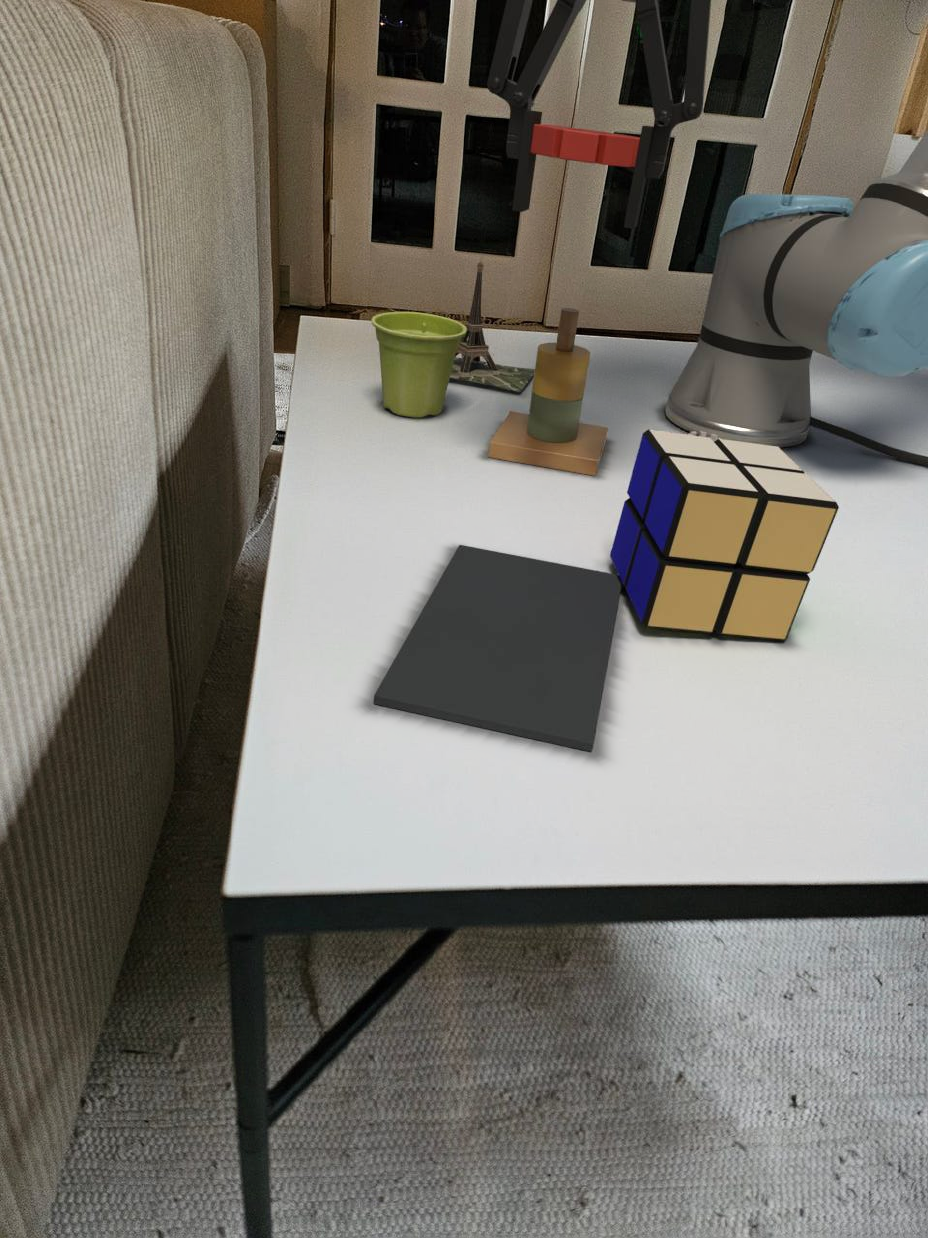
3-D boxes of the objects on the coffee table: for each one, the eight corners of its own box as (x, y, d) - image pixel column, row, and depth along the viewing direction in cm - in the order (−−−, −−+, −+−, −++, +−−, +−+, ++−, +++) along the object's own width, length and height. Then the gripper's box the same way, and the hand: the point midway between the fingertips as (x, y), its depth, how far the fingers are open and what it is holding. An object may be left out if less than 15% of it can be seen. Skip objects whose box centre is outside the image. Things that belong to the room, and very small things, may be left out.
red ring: (641, 164, 68) (646, 137, 67) (631, 168, 62) (637, 138, 61) (542, 150, 69) (546, 123, 68) (522, 153, 63) (526, 123, 62)
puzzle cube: (607, 557, 66) (642, 426, 61) (736, 572, 68) (780, 445, 63) (641, 629, 58) (685, 484, 53) (787, 644, 59) (844, 504, 54)
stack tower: (605, 441, 91) (630, 307, 84) (595, 476, 82) (622, 329, 76) (508, 425, 92) (524, 291, 86) (487, 457, 84) (504, 312, 77)
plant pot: (462, 401, 98) (471, 318, 93) (453, 429, 89) (461, 340, 85) (376, 390, 98) (381, 307, 93) (359, 417, 90) (363, 327, 85)
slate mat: (621, 582, 65) (623, 575, 64) (591, 752, 48) (593, 743, 47) (458, 551, 66) (459, 544, 66) (373, 704, 49) (373, 695, 49)
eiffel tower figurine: (392, 373, 104) (399, 249, 97) (419, 353, 113) (427, 238, 106) (519, 395, 101) (536, 269, 94) (537, 373, 110) (553, 256, 103)
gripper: (805, -155, 57) (715, 233, 69) (492, -179, 61) (455, 194, 72) (814, -189, 51) (712, 244, 62) (463, -215, 54) (428, 201, 66)
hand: (575, 217), depth 67 cm, fingers closed on red ring, 8 cm apart
